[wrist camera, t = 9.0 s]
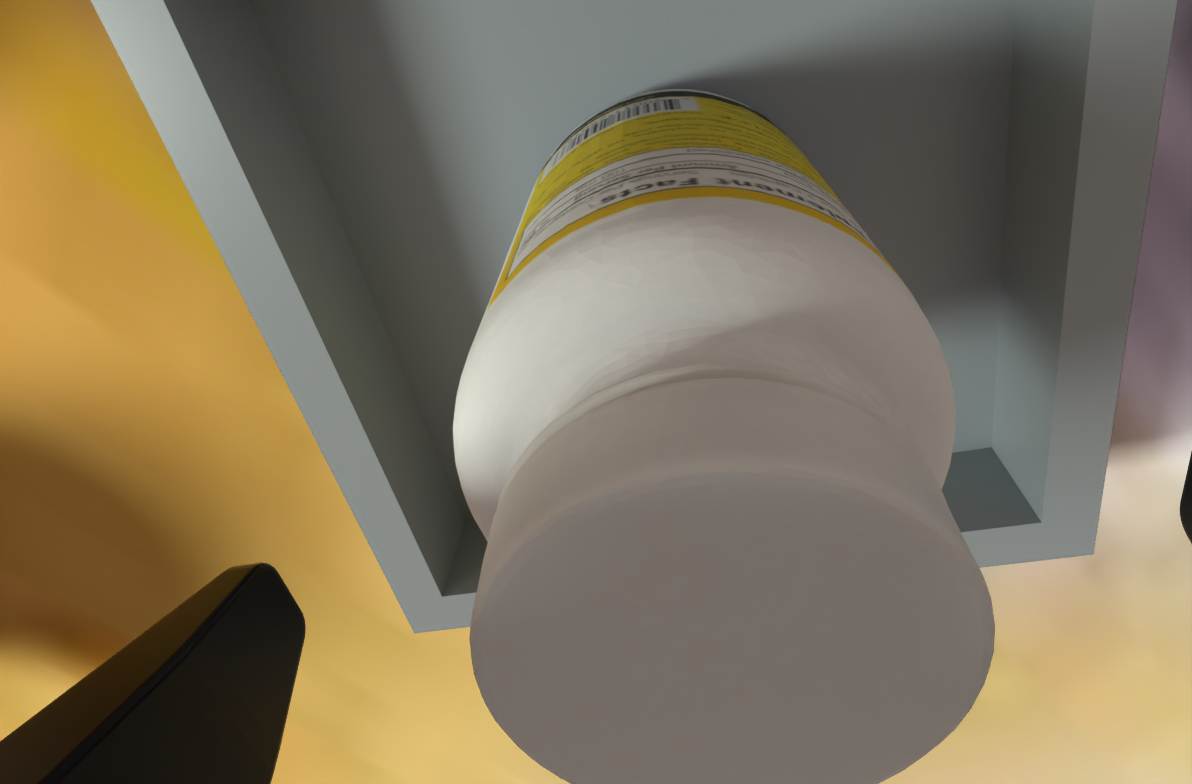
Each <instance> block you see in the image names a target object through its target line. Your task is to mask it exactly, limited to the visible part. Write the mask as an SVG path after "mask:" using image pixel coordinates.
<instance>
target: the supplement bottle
mask: <svg viewBox="0 0 1192 784" xmlns="http://www.w3.org/2000/svg"><path fill="white" fill-rule="evenodd" d="M955 417H956V414H955V404H954V394H953V387H952V383H951V378H950V373H949V368H948V366H947V363H946V360H945V357H944V354H943V351H942V348H941V345H940V343H939V341H938V339H937V337H936V335H935V333H934V331H933V329H932V327H931V325H930V323H929V321H928V320H927V318H926V317H925V315H924V313H923V312H922V310H921V308H920V307H919V305H918V303H917V302H916V300H915V298H914V296H913V295H912V293H911V292H910V290H909V289H908V288H907V286H906V285H905V284H904V282H903V281H902V279H901V278H900V277H899V275H898V274H897V273H896V272H895V270H894V269H893V268H892V267H891V265H890V264H889V263H888V262H887V260H886V259H885V258H884V256H883V255H882V254H881V252H880V251H879V250H878V249H877V247H876V246H875V245H874V244H873V243H872V241H871V240H870V239H869V237H868V236H867V234H866V233H865V232H864V231H863V229H862V228H861V227H860V225H859V224H858V223H857V222H856V221H855V219H854V218H853V216H852V215H851V214H850V213H849V211H848V210H847V209H846V208H845V206H844V205H843V204H842V203H841V201H840V200H839V199H838V197H837V196H836V195H835V193H834V192H833V191H832V190H831V188H830V187H829V186H828V185H827V183H826V182H825V180H824V179H823V178H822V177H821V176H820V175H819V173H818V172H817V171H816V169H815V168H814V167H813V166H812V164H811V163H810V162H809V161H808V159H807V158H806V156H805V155H804V154H803V153H802V152H801V151H800V150H799V148H798V147H797V146H796V145H795V144H794V143H793V142H792V141H791V140H790V139H789V138H788V137H787V135H786V134H785V133H784V132H783V131H782V130H780V129H779V128H778V127H777V126H776V125H775V124H774V123H772V122H771V121H770V120H769V119H768V118H767V117H765V116H764V115H762V114H760V113H758V112H757V111H755V110H754V109H752V108H750V107H749V106H747V105H745V104H743V103H740V102H738V101H736V100H733V99H730V98H727V97H724V96H721V95H718V94H714V93H710V92H706V91H699V90H692V89H664V90H656V91H648V92H645V93H641V94H637V95H633V96H630V97H627V98H624V99H622V100H619V101H617V102H615V103H613V104H611V105H609V106H607V107H605V108H603V109H601V110H599V111H598V112H596V113H594V114H593V115H591V116H590V117H589V118H587V119H586V120H584V121H583V122H582V123H580V124H579V125H578V126H577V127H576V128H574V129H573V130H572V131H571V132H570V133H569V134H568V135H567V136H566V137H565V139H564V140H563V141H562V142H561V143H560V144H559V145H558V146H557V147H556V149H555V150H554V152H553V153H552V155H551V156H550V157H549V159H548V160H547V162H546V164H545V166H544V167H543V169H542V171H541V173H540V175H539V177H538V179H537V180H536V183H535V185H534V187H533V190H532V192H531V194H530V197H529V199H528V202H527V204H526V207H525V210H524V212H523V215H522V218H521V220H520V223H519V226H518V228H517V231H516V234H515V236H514V239H513V241H512V244H511V246H510V249H509V251H508V254H507V256H506V259H505V262H504V265H503V267H502V270H501V273H500V275H499V278H498V280H497V283H496V286H495V288H494V291H493V293H492V296H491V298H490V301H489V303H488V306H487V308H486V311H485V313H484V316H483V318H482V321H481V323H480V326H479V328H478V331H477V333H476V336H475V338H474V341H473V343H472V346H471V348H470V351H469V354H468V357H467V360H466V363H465V366H464V369H463V372H462V375H461V379H460V383H459V387H458V391H457V396H456V404H455V412H454V421H453V442H454V454H455V464H456V468H457V472H458V476H459V480H460V484H461V488H462V491H463V494H464V496H465V499H466V502H467V504H468V507H469V509H470V511H471V513H472V515H473V517H474V519H475V521H476V523H477V524H478V526H479V528H480V529H481V531H482V533H483V535H484V536H485V538H486V540H487V542H488V543H487V547H486V551H485V555H484V559H483V563H482V568H481V574H480V579H479V583H478V588H477V593H476V597H475V602H474V606H473V611H472V615H471V627H470V647H471V657H472V665H473V670H474V675H475V678H476V681H477V684H478V686H479V689H480V692H481V695H482V697H483V699H484V702H485V704H486V705H487V707H488V709H489V711H490V712H491V714H492V716H493V718H494V719H495V721H496V722H497V723H498V724H499V726H500V727H501V728H502V729H503V730H504V732H505V733H506V734H507V735H508V736H509V737H510V738H511V739H512V740H513V742H514V743H515V744H516V745H517V746H518V747H519V748H520V749H521V750H523V751H524V752H525V753H526V754H527V755H528V756H530V757H531V758H532V759H533V760H535V761H536V762H537V763H538V764H540V765H541V766H542V767H544V768H546V769H547V770H549V771H550V772H552V773H553V774H555V775H557V776H558V777H560V778H562V779H564V780H566V781H567V782H569V783H571V784H878V783H880V782H882V781H884V780H886V779H888V778H890V777H892V776H894V775H895V774H897V773H899V772H901V771H903V770H904V769H906V768H907V767H909V766H910V765H912V764H913V763H914V762H916V761H917V760H919V759H920V758H921V757H923V756H924V755H926V754H927V753H928V752H929V751H931V750H932V749H933V748H934V747H936V746H937V745H938V744H939V743H941V742H942V741H943V740H944V739H945V738H946V737H947V736H948V735H949V734H950V733H952V732H953V731H954V730H955V729H956V727H957V726H958V725H959V723H960V722H961V721H962V720H963V718H964V717H965V716H966V714H967V713H968V712H969V710H970V709H971V708H972V706H973V704H974V702H975V700H976V698H977V696H978V694H979V693H980V691H981V689H982V687H983V685H984V683H985V680H986V677H987V674H988V671H989V667H990V664H991V660H992V656H993V652H994V636H995V623H994V616H993V609H992V602H991V597H990V594H989V591H988V588H987V585H986V583H985V580H984V577H983V575H982V573H981V571H980V569H979V567H978V565H977V563H976V561H975V559H974V557H973V555H972V553H971V551H970V549H969V547H968V545H967V544H966V542H965V540H964V538H963V535H962V533H961V531H960V530H959V528H958V526H957V524H956V522H955V520H954V518H953V516H952V514H951V512H950V510H949V507H948V505H947V502H946V500H945V497H944V495H943V492H942V487H943V485H944V482H945V479H946V476H947V473H948V470H949V467H950V462H951V456H952V449H953V443H954V437H955Z"/></svg>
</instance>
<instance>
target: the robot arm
mask: <svg viewBox="0 0 1192 784" xmlns="http://www.w3.org/2000/svg"><path fill="white" fill-rule="evenodd" d="M1180 517H1181V521H1182V525H1183V527H1184V530H1185V532H1186V534H1187V536H1188V538H1189V540H1190V541H1191V543H1192V452H1191V457H1190V462H1189V466H1188V471H1187V475H1186V480H1185V484H1184V489H1183V493H1182V498H1181V502H1180ZM304 639H305V620H304V616H303V613H302V611H301V610H300V608H299V606H298V605H297V603H296V601H295V600H294V598H293V596H292V595H291V593H290V591H289V590H288V588H287V586H286V585H285V583H284V581H283V580H282V578H281V577H280V575H279V573H278V572H277V570H276V569H275V568H274V567H272V566H271V565H269V564H267V563H255V564H248V565H240V566H235V567H232V568H229V569H227V570H226V571H224V572H223V573H221V574H220V575H219V576H218V577H216V578H215V579H214V580H212V581H211V582H210V583H208V584H207V585H206V586H204V587H203V588H202V589H200V590H199V591H198V592H196V593H195V594H194V595H192V596H191V597H190V598H189V599H187V600H186V601H185V602H183V603H182V604H181V605H179V606H178V607H177V608H175V609H174V610H173V611H171V612H170V613H169V614H167V615H166V616H165V617H164V618H162V619H161V620H160V621H158V622H157V623H156V624H154V625H153V626H152V627H150V628H149V629H148V630H146V631H145V632H144V633H142V634H141V635H140V636H138V637H137V638H136V639H135V640H133V641H132V642H131V643H129V644H128V645H127V646H125V647H124V648H123V649H121V650H120V651H119V652H117V653H116V654H115V655H113V656H112V657H111V658H109V659H108V660H107V661H106V662H104V663H103V664H102V665H100V666H99V667H98V668H96V669H95V670H94V671H92V672H91V673H90V674H88V675H87V676H86V677H84V678H83V679H82V680H81V681H79V682H78V683H77V684H75V685H74V686H73V687H71V688H70V689H69V690H67V691H66V692H65V693H63V694H62V695H61V696H59V697H58V698H57V699H55V700H54V701H53V702H52V703H50V704H49V705H48V706H46V707H45V708H44V709H42V710H41V711H40V712H38V713H37V714H36V715H34V716H33V717H32V718H30V719H29V720H28V721H26V722H25V723H24V724H23V725H21V726H20V727H19V728H17V729H16V730H15V731H13V732H12V733H11V734H9V735H8V736H7V737H5V738H4V739H3V740H1V741H0V784H270V783H271V780H272V777H273V773H274V769H275V765H276V761H277V758H278V754H279V750H280V745H281V741H282V736H283V732H284V728H285V723H286V719H287V714H288V710H289V705H290V701H291V697H292V692H293V688H294V683H295V679H296V674H297V670H298V666H299V661H300V657H301V652H302V648H303V643H304Z"/></svg>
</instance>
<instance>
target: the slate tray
mask: <svg viewBox="0 0 1192 784" xmlns="http://www.w3.org/2000/svg"><path fill="white" fill-rule="evenodd" d="M1177 1H1178V0H91V2H92V4H93V6H94V8H95V10H96V12H97V14H98V16H99V18H100V19H101V21H102V23H103V25H104V27H105V29H106V31H107V33H108V35H109V37H110V39H111V41H112V43H113V45H114V47H115V49H116V51H117V53H118V55H119V57H120V59H121V61H122V62H123V64H124V66H125V68H126V70H127V72H128V74H129V76H130V78H131V80H132V82H133V84H134V86H135V88H136V90H137V92H138V94H139V96H140V98H141V100H142V102H143V104H144V105H145V107H146V109H147V111H148V113H149V115H150V117H151V119H152V121H153V123H154V125H155V127H156V129H157V131H158V133H159V135H160V137H161V139H162V141H163V143H164V145H165V147H166V148H167V150H168V152H169V154H170V156H171V158H172V160H173V162H174V164H175V166H176V168H177V170H178V172H179V174H180V176H181V178H182V180H183V182H184V184H185V186H186V188H187V190H188V191H189V193H190V195H191V197H192V199H193V201H194V203H195V205H196V207H197V209H198V211H199V213H200V215H201V217H202V219H203V221H204V223H205V225H206V227H207V229H208V231H209V233H210V234H211V236H212V238H213V240H214V242H215V244H216V246H217V248H218V250H219V252H220V254H221V256H222V258H223V260H224V262H225V264H226V266H227V268H228V270H229V272H230V274H231V276H232V277H233V279H234V281H235V283H236V285H237V287H238V289H239V291H240V293H241V295H242V297H243V299H244V301H245V303H246V305H247V307H248V309H249V311H250V313H251V315H252V317H253V319H254V320H255V322H256V324H257V326H258V328H259V330H260V332H261V334H262V336H263V338H264V340H265V342H266V344H267V346H268V348H269V350H270V352H271V354H272V356H273V358H274V360H275V362H276V363H277V365H278V367H279V369H280V371H281V373H282V375H283V377H284V379H285V381H286V383H287V385H288V387H289V389H290V391H291V393H292V395H293V397H294V399H295V401H296V403H297V405H298V406H299V408H300V410H301V412H302V414H303V416H304V418H305V420H306V422H307V424H308V426H309V428H310V430H311V432H312V434H313V436H314V438H315V440H316V442H317V444H318V446H319V448H320V449H321V451H322V453H323V455H324V457H325V459H326V461H327V463H328V465H329V467H330V469H331V471H332V473H333V475H334V477H335V479H336V481H337V483H338V485H339V487H340V489H341V491H342V492H343V494H344V496H345V498H346V500H347V502H348V504H349V506H350V508H351V510H352V512H353V514H354V516H355V518H356V520H357V522H358V524H359V526H360V528H361V530H362V532H363V534H364V535H365V537H366V539H367V541H368V543H369V545H370V547H371V549H372V551H373V553H374V555H375V557H376V559H377V561H378V563H379V565H380V567H381V569H382V571H383V573H384V575H385V577H386V578H387V580H388V582H389V584H390V586H391V588H392V590H393V592H394V594H395V596H396V598H397V600H398V602H399V604H400V606H401V608H402V610H403V612H404V614H405V616H406V618H407V620H408V621H409V623H410V625H411V627H412V629H413V631H414V633H421V632H429V631H438V630H447V629H455V628H464V627H471V615H472V611H473V606H474V602H475V597H476V593H477V588H478V583H479V579H480V574H481V568H482V563H483V559H484V555H485V551H486V547H487V543H488V542H487V540H486V538H485V536H484V535H483V533H482V531H481V529H480V528H479V526H478V524H477V523H476V521H475V519H474V517H473V515H472V513H471V511H470V509H469V507H468V504H467V502H466V499H465V496H464V494H463V491H462V488H461V484H460V480H459V476H458V472H457V468H456V464H455V454H454V442H453V421H454V412H455V404H456V396H457V391H458V387H459V383H460V379H461V375H462V372H463V369H464V366H465V363H466V360H467V357H468V354H469V351H470V348H471V346H472V343H473V341H474V338H475V336H476V333H477V331H478V328H479V326H480V323H481V321H482V318H483V316H484V313H485V311H486V308H487V306H488V303H489V301H490V298H491V296H492V293H493V291H494V288H495V286H496V283H497V280H498V278H499V275H500V273H501V270H502V267H503V265H504V262H505V259H506V256H507V254H508V251H509V249H510V246H511V244H512V241H513V239H514V236H515V234H516V231H517V228H518V226H519V223H520V220H521V218H522V215H523V212H524V210H525V207H526V204H527V202H528V199H529V197H530V194H531V192H532V190H533V187H534V185H535V183H536V180H537V179H538V177H539V175H540V173H541V171H542V169H543V167H544V166H545V164H546V162H547V160H548V159H549V157H550V156H551V155H552V153H553V152H554V150H555V149H556V147H557V146H558V145H559V144H560V143H561V142H562V141H563V140H564V139H565V137H566V136H567V135H568V134H569V133H570V132H571V131H572V130H573V129H574V128H576V127H577V126H578V125H579V124H580V123H582V122H583V121H584V120H586V119H587V118H589V117H590V116H591V115H593V114H594V113H596V112H598V111H599V110H601V109H603V108H605V107H607V106H609V105H611V104H613V103H615V102H617V101H619V100H622V99H624V98H627V97H630V96H633V95H637V94H641V93H645V92H648V91H656V90H664V89H692V90H699V91H706V92H710V93H714V94H718V95H721V96H724V97H727V98H730V99H733V100H736V101H738V102H740V103H743V104H745V105H747V106H749V107H750V108H752V109H754V110H755V111H757V112H758V113H760V114H762V115H764V116H765V117H767V118H768V119H769V120H770V121H771V122H772V123H774V124H775V125H776V126H777V127H778V128H779V129H780V130H782V131H783V132H784V133H785V134H786V135H787V137H788V138H789V139H790V140H791V141H792V142H793V143H794V144H795V145H796V146H797V147H798V148H799V150H800V151H801V152H802V153H803V154H804V155H805V156H806V158H807V159H808V161H809V162H810V163H811V164H812V166H813V167H814V168H815V169H816V171H817V172H818V173H819V175H820V176H821V177H822V178H823V179H824V180H825V182H826V183H827V185H828V186H829V187H830V188H831V190H832V191H833V192H834V193H835V195H836V196H837V197H838V199H839V200H840V201H841V203H842V204H843V205H844V206H845V208H846V209H847V210H848V211H849V213H850V214H851V215H852V216H853V218H854V219H855V221H856V222H857V223H858V224H859V225H860V227H861V228H862V229H863V231H864V232H865V233H866V234H867V236H868V237H869V239H870V240H871V241H872V243H873V244H874V245H875V246H876V247H877V249H878V250H879V251H880V252H881V254H882V255H883V256H884V258H885V259H886V260H887V262H888V263H889V264H890V265H891V267H892V268H893V269H894V270H895V272H896V273H897V274H898V275H899V277H900V278H901V279H902V281H903V282H904V284H905V285H906V286H907V288H908V289H909V290H910V292H911V293H912V295H913V296H914V298H915V300H916V302H917V303H918V305H919V307H920V308H921V310H922V312H923V313H924V315H925V317H926V318H927V320H928V321H929V323H930V325H931V327H932V329H933V331H934V333H935V335H936V337H937V339H938V341H939V343H940V345H941V348H942V351H943V354H944V357H945V360H946V363H947V366H948V368H949V373H950V378H951V383H952V387H953V394H954V404H955V414H956V417H955V437H954V443H953V449H952V456H951V462H950V467H949V470H948V473H947V476H946V479H945V482H944V485H943V487H942V492H943V495H944V497H945V500H946V502H947V505H948V507H949V510H950V512H951V514H952V516H953V518H954V520H955V522H956V524H957V526H958V528H959V530H960V531H961V533H962V535H963V538H964V540H965V542H966V544H967V545H968V547H969V549H970V551H971V553H972V555H973V557H974V559H975V561H976V563H977V565H978V567H979V568H981V567H989V566H998V565H1007V564H1015V563H1024V562H1032V561H1041V560H1050V559H1058V558H1067V557H1075V556H1084V555H1093V554H1094V547H1095V540H1096V534H1097V527H1098V521H1099V514H1100V507H1101V501H1102V494H1103V488H1104V481H1105V475H1106V468H1107V461H1108V455H1109V448H1110V442H1111V435H1112V429H1113V422H1114V415H1115V409H1116V402H1117V396H1118V389H1119V382H1120V376H1121V369H1122V363H1123V356H1124V350H1125V343H1126V336H1127V330H1128V323H1129V317H1130V310H1131V304H1132V297H1133V290H1134V284H1135V277H1136V271H1137V264H1138V257H1139V251H1140V244H1141V238H1142V231H1143V225H1144V218H1145V211H1146V205H1147V198H1148V192H1149V185H1150V179H1151V172H1152V165H1153V159H1154V152H1155V146H1156V139H1157V132H1158V126H1159V119H1160V113H1161V106H1162V100H1163V93H1164V86H1165V80H1166V73H1167V67H1168V60H1169V54H1170V47H1171V40H1172V34H1173V27H1174V21H1175V14H1176V7H1177Z"/></svg>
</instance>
